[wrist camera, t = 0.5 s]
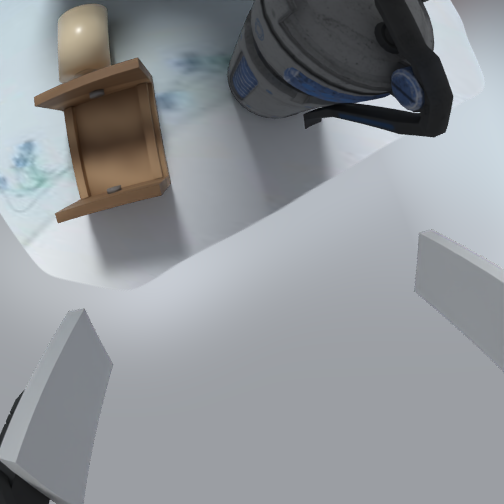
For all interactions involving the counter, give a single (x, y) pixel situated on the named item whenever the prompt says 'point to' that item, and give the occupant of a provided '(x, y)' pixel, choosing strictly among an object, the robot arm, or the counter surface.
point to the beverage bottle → (342, 63)
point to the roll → (83, 41)
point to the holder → (111, 137)
